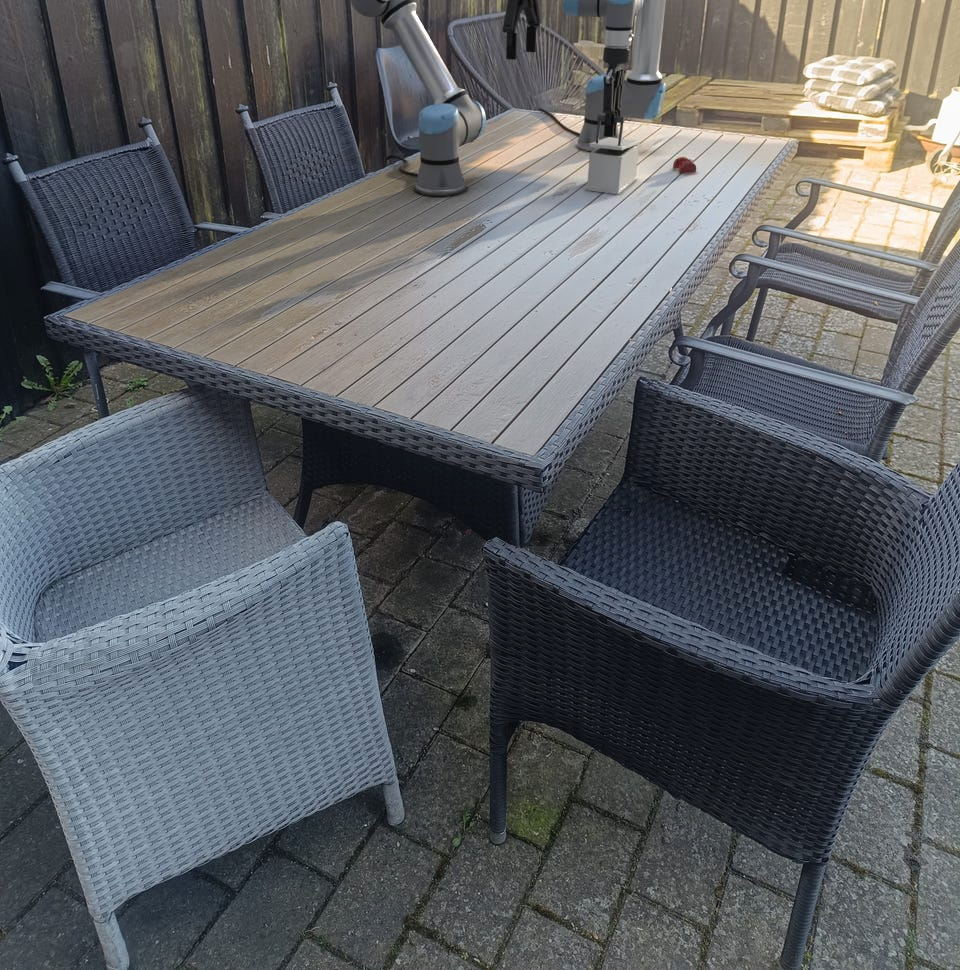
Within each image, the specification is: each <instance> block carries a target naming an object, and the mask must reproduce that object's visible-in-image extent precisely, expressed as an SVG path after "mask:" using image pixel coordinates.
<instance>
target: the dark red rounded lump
mask: <svg viewBox="0 0 960 970" xmlns="http://www.w3.org/2000/svg"><path fill="white" fill-rule="evenodd" d="M672 170H678V173H679V174H690V173H691V174H692V173H696V172H697V165H696V163H695V161H694V160H693V159H691V158H688V157H686V156H679V157H677V158H676V159H674V161H673V164H672Z"/></svg>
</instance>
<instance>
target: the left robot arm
mask: <svg viewBox="0 0 960 970" xmlns="http://www.w3.org/2000/svg"><path fill="white" fill-rule="evenodd" d="M349 1H350V3H351V6H352V7H353V9H354V10H355V11H356V12H357V13H358V14H360V15H361V16H363V17H367V18H376V17H377V18H378V19H379V21H380V23H381V24H382V27H383V28H384V29H387V30H390V31H392V33H393V35H394V37H395V38H396V41H397V42H398V43H399V45H400V47H401V49H402V51H403V52H404V54H405V56H406V58H407V59H408V61H409V62H410V64H411V66H412V68H413V70H414V71H415V73H416V75H417V76H418V78H419V80H420V82H421V83H422V85H423V87H424V88H425V90H426V92H427V94H428V95H429V98H430V99H431V101H432V102H433V104H429V105H428V106H425V107H424V108H422V109H421V110H420V112H419V113H418V122H417V123H418V126H417V127H418V136H419V138H418V139H419V157H420V158H419V159H420V161H419V162H420V164H419V168H418V172H412V171H407V170H405V169H404V168H406V167H407V166H408V165H409V161H408V160H407V159H406V158H404V157H402V156H400V155H397V154H389V155H388V156H386V157H385V160H386V161H389V160H390V159H397V160H399V161H402V162H403V164H401V165H400V166H399V168H398V170H399V172H400V173H402V174H403V175H407V176H411V177H415V178H416V180H415V183H414V184H415V185H414V186H415V192H417V193H418V194H420V195H424V196H430V197H450V196H455V195H459V194H461V193H463V192H464V191H466V181H465V179H464V176H463V172H462V169H461V165H460V147H463V146H465V145H467V144H470V143H473V142H475V141H476V140H477V139H479V138H481V136H482V135H483V133H484V131H485V130H486V129H485V128H486V123H487V116H486V112H485V109H484V107H483V106H482V104H481V103H480V102H479V101H477V100H474V99H472V98H470V96H469V94H468V93H467V91H466V89H464V88H461V87H458V85H457V83H456V82H455V80H454V78H453V77H452V75H451V73H450V71H449V69H448V68H447V66H446V64H445V62H444V60H443V59H442V57H441V56H440V53H439V52H438V50H437V48H436V47H435V45H434V43H433V41H432V40H431V38H430V36H429V34H428V32H427V31H426V29H425V27H424V25H423V24H422V22H421V20H420V18H419V16H418V15H417V7H418V4H417V2H416V0H349ZM538 3H539V2H538V0H507V3H506V9H505V14H504V19H503V26H502V33H506V45H505V46H506V48H505V49H506V50H505V51H506V54H505V58H506V60H515V61H516V60H517V45H518V44H517V43H518V41H517V40H518V32H516V31H517V27H518V23H519V20H520V18H521V14H522V12H524V15H525V19H526V22H527V26H526V37H525V52H526V53H536V51H537V50H536V49H537V47H536V46H537V27H540V26H541V17H540V16H541V15H540V10H539V4H538Z"/></svg>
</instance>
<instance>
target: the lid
mask: <svg viewBox="0 0 960 970" xmlns="http://www.w3.org/2000/svg"><path fill="white" fill-rule="evenodd" d="M597 120H598V126H597V135H596V142H593V143H590V145H589V147H597V148H605V149H614V150H624V149H627V148H629V147H632V146H634V145H637V144H639V145H640V142H641V141H640V140H637V139H629V138H628V139H627V138H623V130H624V124H625V121H626V118H625V117H620V116H615V122H616V123H617V124H620V125H619V138H612V137H608V138H605V139H602V140H599V134H600V125H601V121H605V115H601V114H598V117H597Z"/></svg>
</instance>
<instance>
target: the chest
mask: <svg viewBox="0 0 960 970" xmlns="http://www.w3.org/2000/svg"><path fill="white" fill-rule="evenodd" d="M639 150H640V143H639V144H637V145H634V146H632V147H629V148H627V149H624V150H614V149H605V148H597V149H595V150H594V151H592V152H589V158H588V170H587V186H586V191H590V192H591V191H592V192H598V193H606V194H611V195H619V194H621V193H622V192H623V191H624V190H625V189H627V188H628V187H629V186H630V185H631V184H632V183H633V182H635V181H636V178H637V169H638V159H639Z"/></svg>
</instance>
